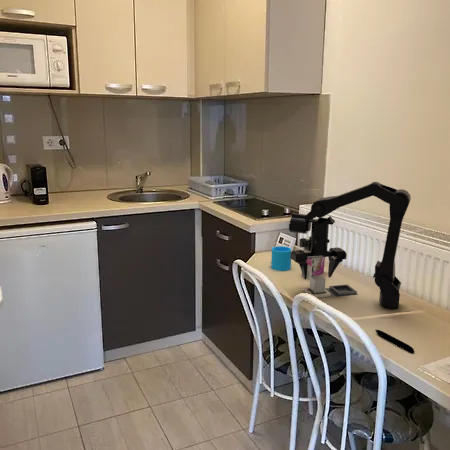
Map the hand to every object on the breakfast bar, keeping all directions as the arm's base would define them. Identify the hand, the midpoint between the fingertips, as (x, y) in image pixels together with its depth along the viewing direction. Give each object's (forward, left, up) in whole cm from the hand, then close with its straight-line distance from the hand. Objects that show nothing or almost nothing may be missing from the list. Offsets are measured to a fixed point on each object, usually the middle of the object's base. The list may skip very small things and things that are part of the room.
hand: (317, 278), depth 163 cm
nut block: (0, 0, -6) cm, 6 cm away
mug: (+34, +2, -7) cm, 35 cm away
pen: (-36, -7, -7) cm, 38 cm away
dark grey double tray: (0, -5, -7) cm, 8 cm away
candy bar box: (+19, -7, -7) cm, 21 cm away
